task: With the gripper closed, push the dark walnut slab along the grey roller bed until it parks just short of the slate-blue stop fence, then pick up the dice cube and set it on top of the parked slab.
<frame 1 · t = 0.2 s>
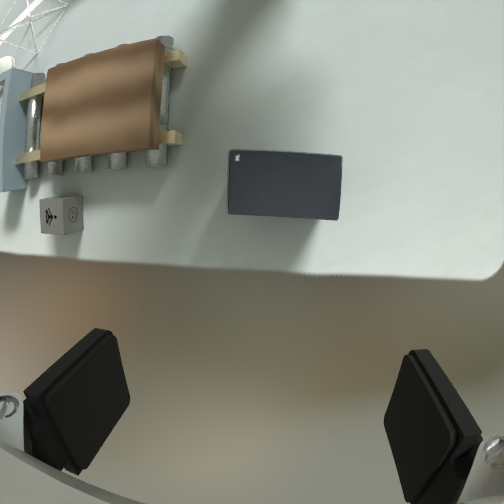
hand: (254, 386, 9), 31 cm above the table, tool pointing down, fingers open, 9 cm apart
vase: (4, 74, 37), on the table
roller bed: (91, 112, 37), on the table
dice cube: (72, 211, 41), on the table
slab: (101, 104, 34), point 3 cm above the table, touching roller bed
stop fence: (25, 129, 39), on the table
small box: (284, 181, 37), on the table
geometric polyhedron: (45, 26, 34), on the table
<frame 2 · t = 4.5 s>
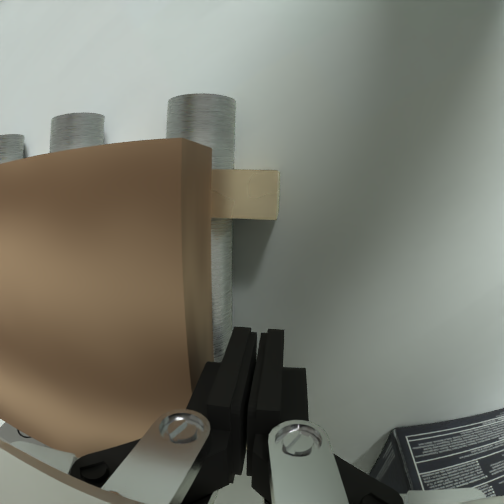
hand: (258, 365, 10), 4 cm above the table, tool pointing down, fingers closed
roller bed: (30, 284, 15), on the table
dice cube: (52, 429, 20), on the table
slab: (40, 312, 12), point 3 cm above the table, touching gripper, roller bed
small box: (439, 445, 16), on the table
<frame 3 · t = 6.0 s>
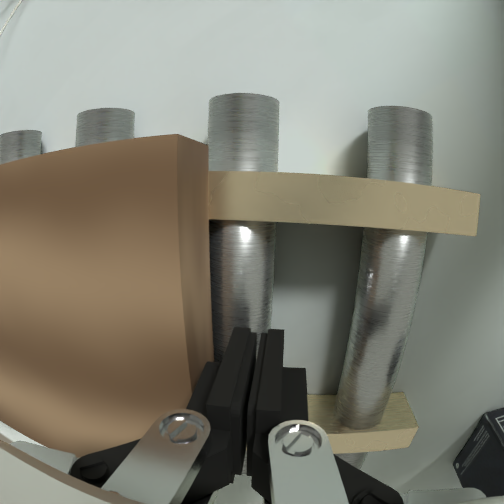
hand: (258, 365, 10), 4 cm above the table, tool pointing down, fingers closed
roller bed: (128, 301, 15), on the table
slab: (40, 313, 12), point 3 cm above the table, touching gripper, roller bed
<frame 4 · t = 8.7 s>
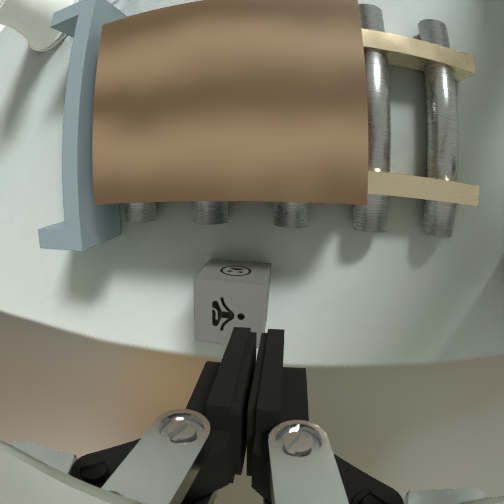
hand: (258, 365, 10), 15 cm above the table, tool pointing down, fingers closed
vase: (55, 23, 21), on the table
roller bed: (293, 107, 22), on the table
dice cube: (240, 288, 26), on the table
slab: (226, 98, 19), point 3 cm above the table, touching roller bed
stop fence: (112, 119, 24), on the table
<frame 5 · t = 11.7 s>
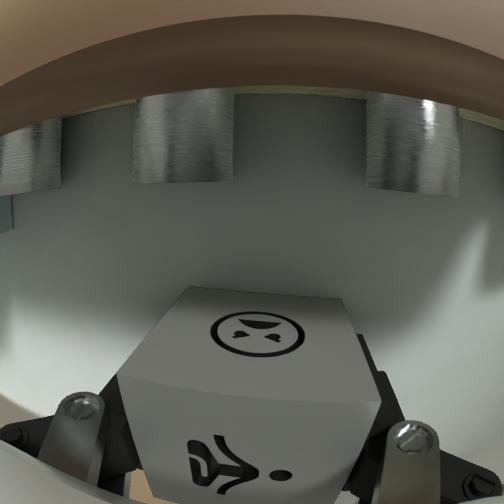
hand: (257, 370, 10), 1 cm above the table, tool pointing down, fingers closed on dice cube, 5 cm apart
dice cube: (259, 355, 11), on the table, touching gripper
stop fence: (22, 20, 8), on the table
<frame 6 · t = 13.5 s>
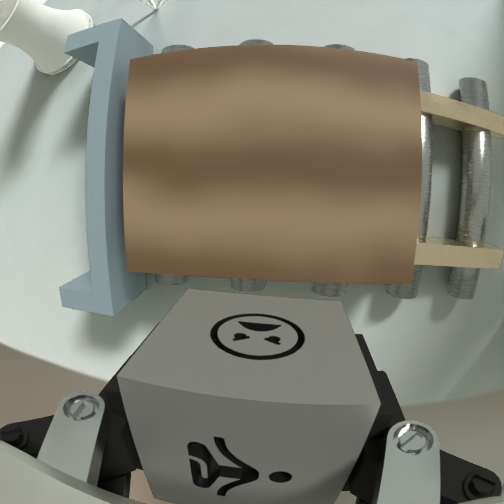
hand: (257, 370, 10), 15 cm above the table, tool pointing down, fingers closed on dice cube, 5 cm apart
vase: (65, 42, 21), on the table
roller bed: (335, 167, 22), on the table
dice cube: (259, 357, 11), point 14 cm above the table, touching gripper
slab: (272, 160, 19), point 3 cm above the table, touching roller bed
stop fence: (135, 164, 23), on the table
when the fingers open (8 cm above the table, at t = 15.7 s): dice cube moves 1 cm, resting on slab.
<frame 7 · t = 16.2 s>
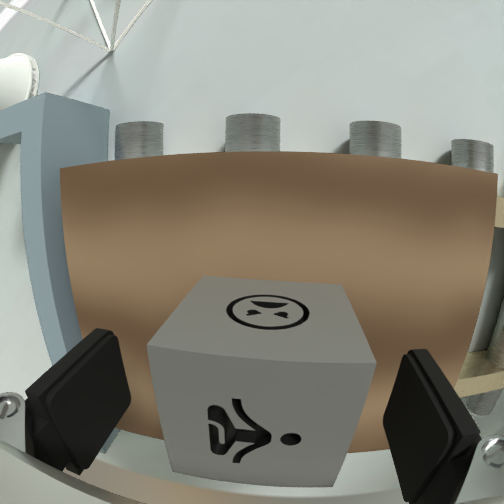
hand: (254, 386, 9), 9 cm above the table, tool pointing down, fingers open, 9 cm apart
vase: (12, 98, 16), on the table
roller bed: (357, 291, 17), on the table
dice cube: (268, 338, 12), point 6 cm above the table, touching slab
slab: (276, 310, 14), point 3 cm above the table, touching dice cube, roller bed
stop fence: (104, 276, 18), on the table
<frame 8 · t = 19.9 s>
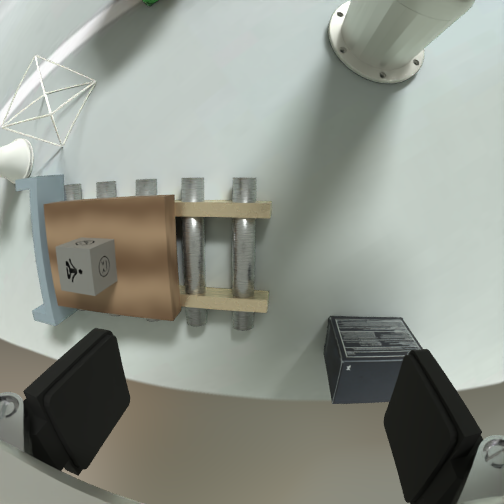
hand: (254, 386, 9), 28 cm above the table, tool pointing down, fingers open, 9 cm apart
vase: (21, 160, 38), on the table
roller bed: (153, 249, 39), on the table
dice cube: (99, 258, 33), point 6 cm above the table, touching slab
slab: (112, 253, 36), point 3 cm above the table, touching dice cube, roller bed
stop fence: (64, 245, 40), on the table
small box: (362, 336, 39), on the table
geometric polyhedron: (67, 106, 35), on the table
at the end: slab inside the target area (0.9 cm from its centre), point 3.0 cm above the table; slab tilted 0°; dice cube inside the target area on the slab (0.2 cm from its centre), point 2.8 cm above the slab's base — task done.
